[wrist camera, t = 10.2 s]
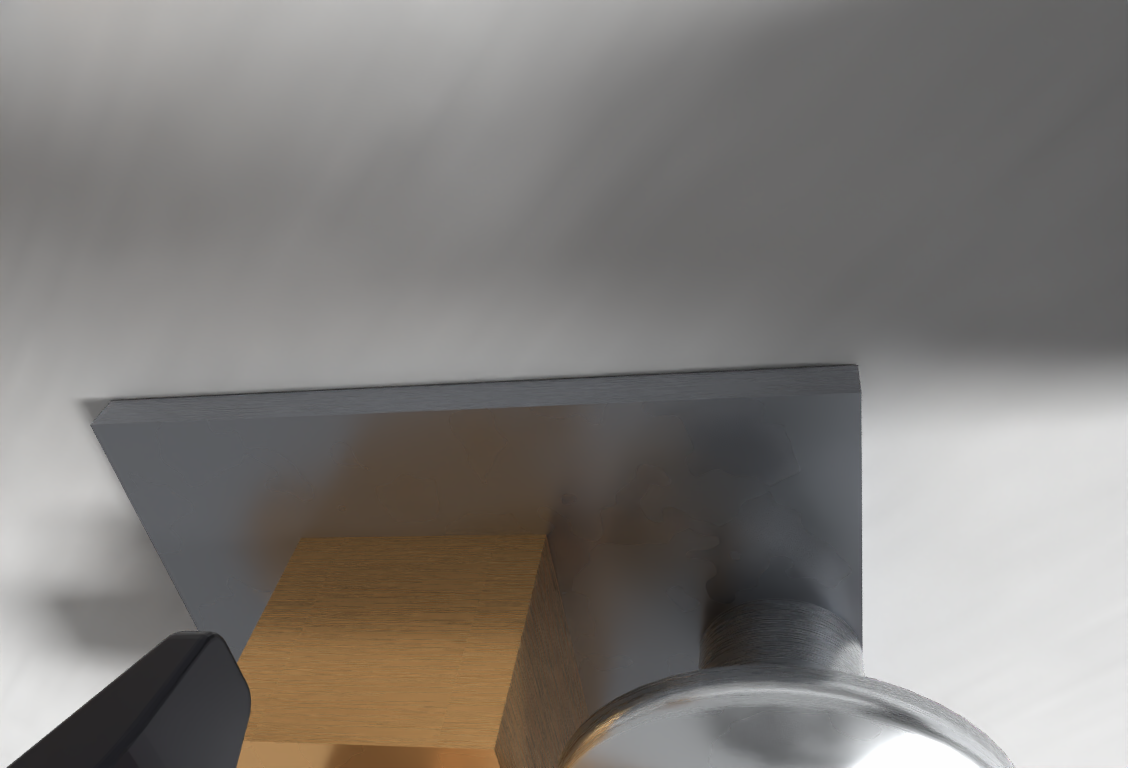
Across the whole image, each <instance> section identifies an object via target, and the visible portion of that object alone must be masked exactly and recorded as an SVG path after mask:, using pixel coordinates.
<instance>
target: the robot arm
mask: <svg viewBox="0 0 1128 768" xmlns="http://www.w3.org/2000/svg"><path fill="white" fill-rule="evenodd" d="M250 712H251V694H250V689H249V686H248V684H247V682H246V680H245V678H244V676H243V674H242V672H241V670H240V668H239V666H238V664H237V663H236V661H235V659H234V657H233V655H232V653H231V651H230V649H229V647H228V645H227V643H226V641H225V640H224V638H223V637H222V636H220V635H219V634H218V633H216V632H212V631H182V632H177V633H174V634H172V635H170V636H169V637H167V638H166V639H164V640H163V641H162V642H161V643H160V644H158V645H157V646H156V647H155V648H153V649H152V650H151V651H150V652H148V653H147V654H146V655H145V656H144V657H142V658H141V659H140V660H139V661H137V662H136V663H135V664H134V665H132V666H131V667H130V668H129V669H128V670H126V671H125V672H124V673H123V674H121V675H120V676H119V677H118V678H116V679H115V680H114V681H113V682H111V683H110V684H109V685H108V686H107V687H105V688H104V689H103V690H102V691H100V692H99V693H98V694H97V695H95V696H94V697H93V698H92V699H91V700H89V701H88V702H87V703H86V704H84V705H83V706H82V707H81V708H79V709H78V710H77V711H76V712H75V713H73V714H72V715H71V716H70V717H68V718H67V719H66V720H65V721H63V722H62V723H61V724H60V725H58V726H57V727H56V728H55V729H54V730H52V731H51V732H50V733H49V734H47V735H46V736H45V737H44V738H42V739H41V740H40V741H39V742H38V743H36V744H35V745H34V746H33V747H31V748H30V749H29V750H28V751H26V752H25V753H24V754H23V755H22V756H20V757H19V758H18V759H17V760H15V761H14V762H13V763H12V764H10V765H9V766H8V767H7V768H236V767H237V763H238V759H239V756H240V752H241V748H242V744H243V740H244V736H245V732H246V729H247V725H248V721H249V717H250Z"/></svg>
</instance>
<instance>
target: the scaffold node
mask: <svg viewBox="0 0 1128 768" xmlns="http://www.w3.org/2000/svg"><path fill="white" fill-rule="evenodd" d="M91 427H92V429H93V431H94V433H95V435H96V437H97V439H98V441H99V443H100V444H101V446H102V448H103V450H104V452H105V454H106V456H107V458H108V460H109V462H110V463H111V465H112V467H113V469H114V471H115V473H116V475H117V477H118V479H119V481H120V482H121V484H122V486H123V488H124V490H125V492H126V494H127V496H128V498H129V500H130V501H131V503H132V505H133V507H134V509H135V511H136V513H137V515H138V517H139V518H140V520H141V522H142V524H143V526H144V528H145V530H146V532H147V534H148V536H149V537H150V539H151V541H152V543H153V545H154V547H155V549H156V551H157V553H158V555H159V556H160V558H161V560H162V562H163V564H164V566H165V568H166V570H167V572H168V574H169V575H170V577H171V579H172V581H173V583H174V585H175V587H176V589H177V591H178V593H179V594H180V596H181V598H182V600H183V602H184V604H185V606H186V608H187V610H188V612H189V613H190V615H191V617H192V619H193V621H194V623H195V625H196V627H197V629H198V631H212V632H216V633H218V634H219V635H220V636H222V637H223V638H224V640H225V641H226V643H227V645H228V647H229V649H230V651H231V653H232V655H233V657H234V659H235V661H236V663H237V664H238V666H239V668H240V670H241V672H242V674H243V676H244V678H245V680H246V682H247V684H248V686H249V689H250V694H251V712H250V717H249V721H248V725H247V729H246V732H245V736H244V740H243V744H242V748H241V752H240V756H239V759H238V763H237V767H236V768H1015V767H1014V765H1013V764H1012V762H1011V761H1010V760H1009V758H1008V757H1007V755H1006V754H1005V753H1004V752H1003V751H1002V750H1001V749H1000V748H999V747H998V746H997V745H996V744H995V743H994V742H993V741H992V740H991V739H990V738H989V737H988V736H987V735H986V734H985V733H983V732H982V731H981V730H979V729H978V728H977V727H975V726H974V725H973V724H971V723H970V722H969V721H967V720H966V719H965V718H963V717H961V716H960V715H958V714H956V713H954V712H953V711H951V710H949V709H948V708H946V707H944V706H942V705H941V704H939V703H937V702H935V701H932V700H930V699H928V698H926V697H923V696H921V695H919V694H916V693H914V692H912V691H910V690H907V689H904V688H901V687H898V686H895V685H892V684H889V683H886V682H883V681H880V680H877V679H873V678H868V677H865V676H864V666H863V656H862V447H861V387H860V379H859V372H858V365H848V366H827V367H806V368H785V369H765V370H744V371H723V372H702V373H681V374H660V375H639V376H618V377H597V378H576V379H555V380H535V381H514V382H493V383H472V384H451V385H430V386H409V387H388V388H367V389H346V390H325V391H305V392H284V393H263V394H242V395H221V396H200V397H179V398H158V399H137V400H116V401H111V402H110V403H109V404H108V405H107V406H106V407H105V409H104V410H103V411H102V412H101V413H100V414H99V416H98V417H97V418H96V419H95V420H94V421H93V423H92V424H91Z"/></svg>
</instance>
